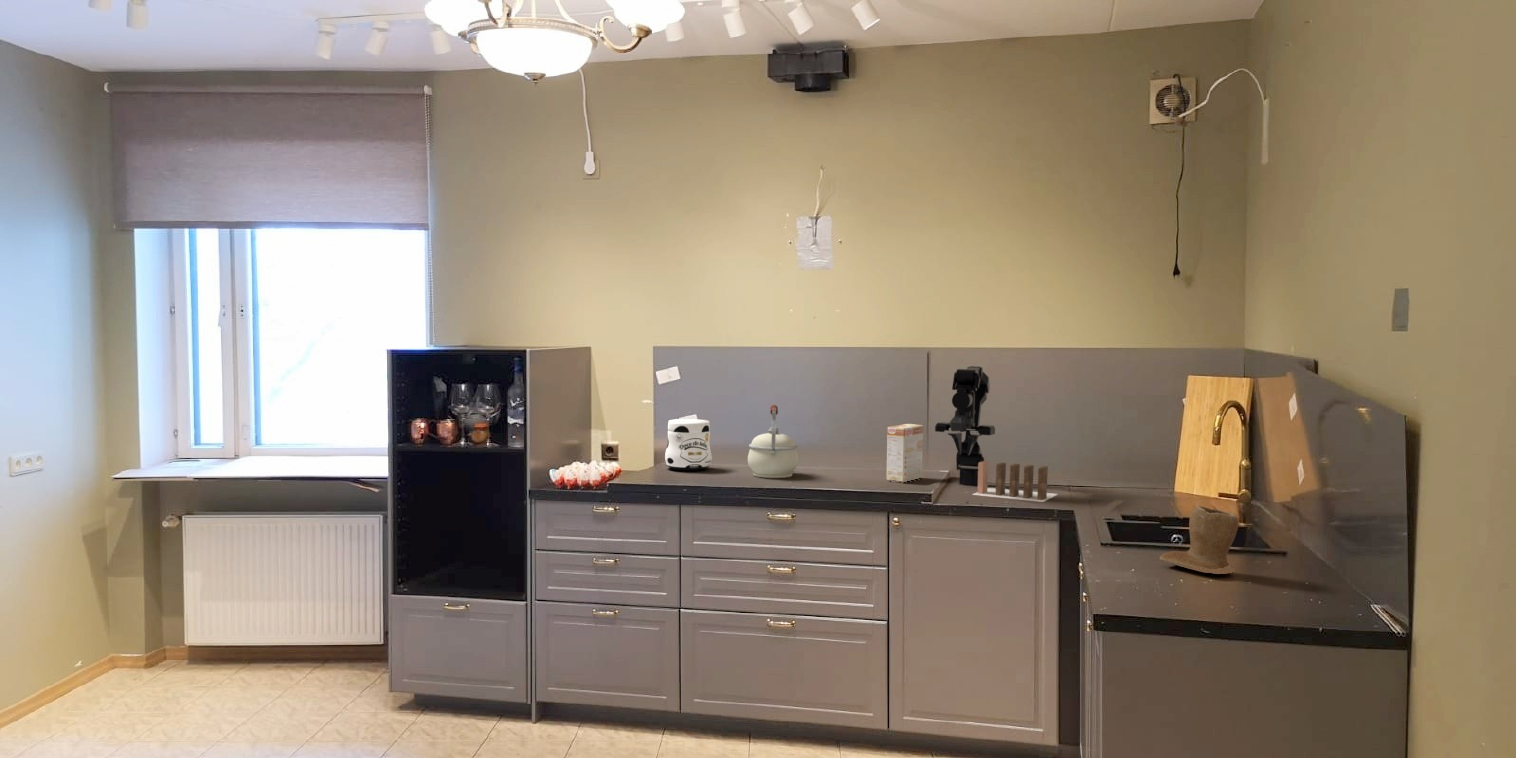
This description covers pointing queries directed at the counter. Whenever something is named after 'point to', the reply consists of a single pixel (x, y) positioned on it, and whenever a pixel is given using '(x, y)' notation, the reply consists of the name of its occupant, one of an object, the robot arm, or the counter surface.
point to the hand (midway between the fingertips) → (964, 454)
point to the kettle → (773, 453)
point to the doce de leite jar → (688, 444)
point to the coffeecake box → (904, 452)
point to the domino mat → (992, 492)
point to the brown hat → (1207, 539)
